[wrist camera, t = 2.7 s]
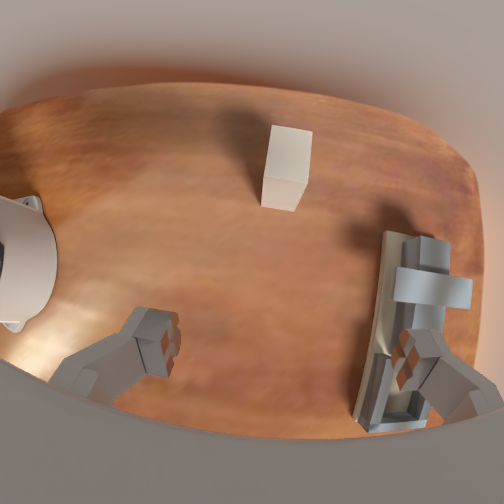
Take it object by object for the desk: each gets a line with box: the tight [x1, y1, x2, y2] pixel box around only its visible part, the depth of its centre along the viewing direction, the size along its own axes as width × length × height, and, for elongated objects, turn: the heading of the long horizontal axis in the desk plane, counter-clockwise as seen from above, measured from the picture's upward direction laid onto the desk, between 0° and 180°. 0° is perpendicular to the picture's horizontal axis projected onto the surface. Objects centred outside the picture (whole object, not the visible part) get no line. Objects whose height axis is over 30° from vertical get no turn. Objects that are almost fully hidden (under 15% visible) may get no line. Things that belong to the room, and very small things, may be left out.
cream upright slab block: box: [261, 125, 313, 212], centre depth 26 cm, size 4×5×8 cm
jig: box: [352, 230, 473, 433], centre depth 25 cm, size 10×21×6 cm, turn 171°
